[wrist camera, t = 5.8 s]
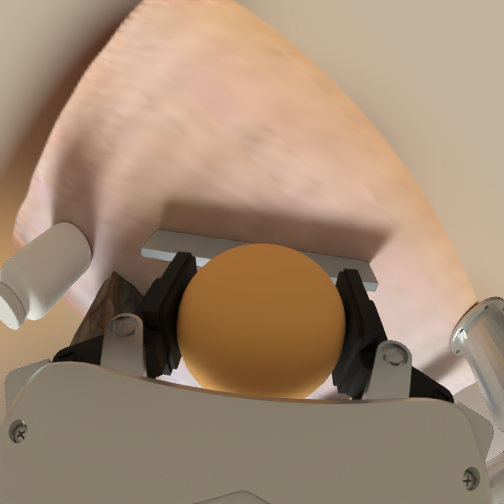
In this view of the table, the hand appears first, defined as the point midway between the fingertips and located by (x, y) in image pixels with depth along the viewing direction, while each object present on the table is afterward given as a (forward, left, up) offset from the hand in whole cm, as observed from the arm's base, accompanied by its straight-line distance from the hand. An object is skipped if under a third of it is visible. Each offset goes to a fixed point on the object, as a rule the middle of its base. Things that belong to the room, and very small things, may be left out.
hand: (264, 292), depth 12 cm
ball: (0, 0, +2) cm, 2 cm away
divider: (0, +7, -17) cm, 19 cm away
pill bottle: (+26, +11, -18) cm, 33 cm away
